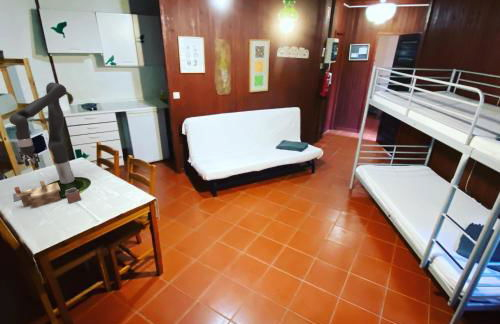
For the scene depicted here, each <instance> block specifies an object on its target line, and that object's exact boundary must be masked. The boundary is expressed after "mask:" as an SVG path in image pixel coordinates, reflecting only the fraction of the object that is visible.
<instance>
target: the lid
mask: <svg viewBox="0 0 500 324" xmlns="http://www.w3.org/2000/svg"><path fill="white" fill-rule="evenodd" d="M39 183H40V184H39V185H40V186H38V187H36V188H35V187H34V188H30V189H31V190H32V193H30V195H31V198H32V199H33V198H36V197H40V196H43V195H47V194H51V193H54V192H61V188H60V186H59V183H58V182H53V183H49V184H46V183H45V180H40V181H39Z"/></svg>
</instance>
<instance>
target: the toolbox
mask: <svg viewBox="0 0 500 324" xmlns="http://www.w3.org/2000/svg"><path fill="white" fill-rule="evenodd" d="M59 192H60V191H58V192H54V193H51V194H47V195H43V196H40V197H36V198H33V199H32V198H31V195H30V194H26V195H23V196H20V198H21V200H20V201H21V203H22V205H23V207H24V208H27V207H31V209H35V208H38V207H42V206H45V205H49V204H52V203H56V202H59V201H61V200H62V198H61V195H60V193H59Z"/></svg>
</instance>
